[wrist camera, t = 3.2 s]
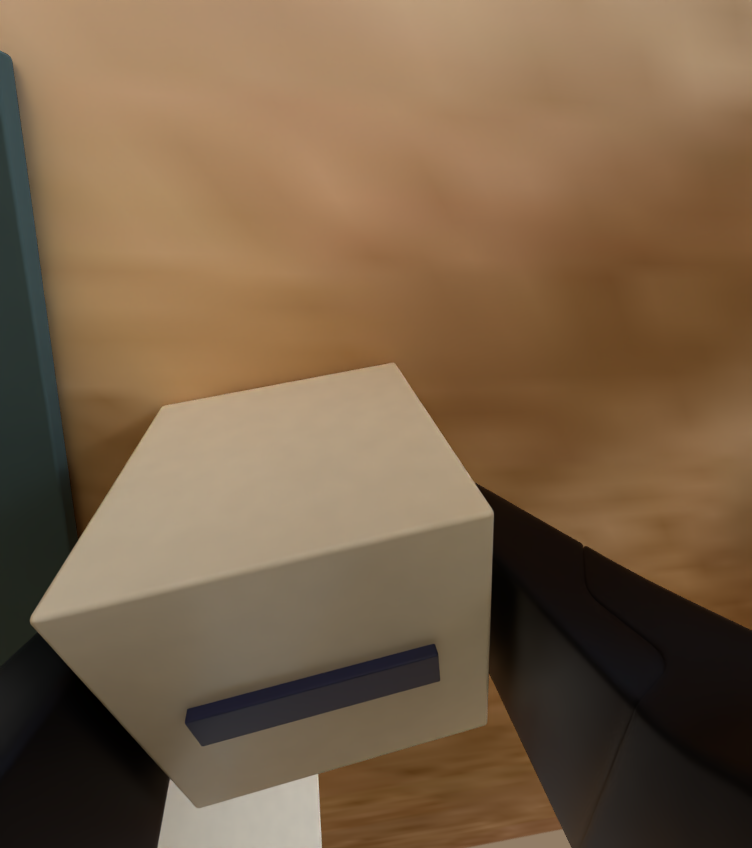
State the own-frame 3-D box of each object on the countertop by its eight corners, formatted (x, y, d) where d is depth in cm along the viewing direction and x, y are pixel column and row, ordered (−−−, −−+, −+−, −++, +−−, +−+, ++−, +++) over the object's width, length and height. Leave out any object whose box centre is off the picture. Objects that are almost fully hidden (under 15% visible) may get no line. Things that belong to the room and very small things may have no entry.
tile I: (395, 360, 8) (503, 522, 4) (412, 526, 10) (492, 737, 6) (160, 405, 7) (12, 638, 3) (232, 569, 10) (194, 825, 6)
